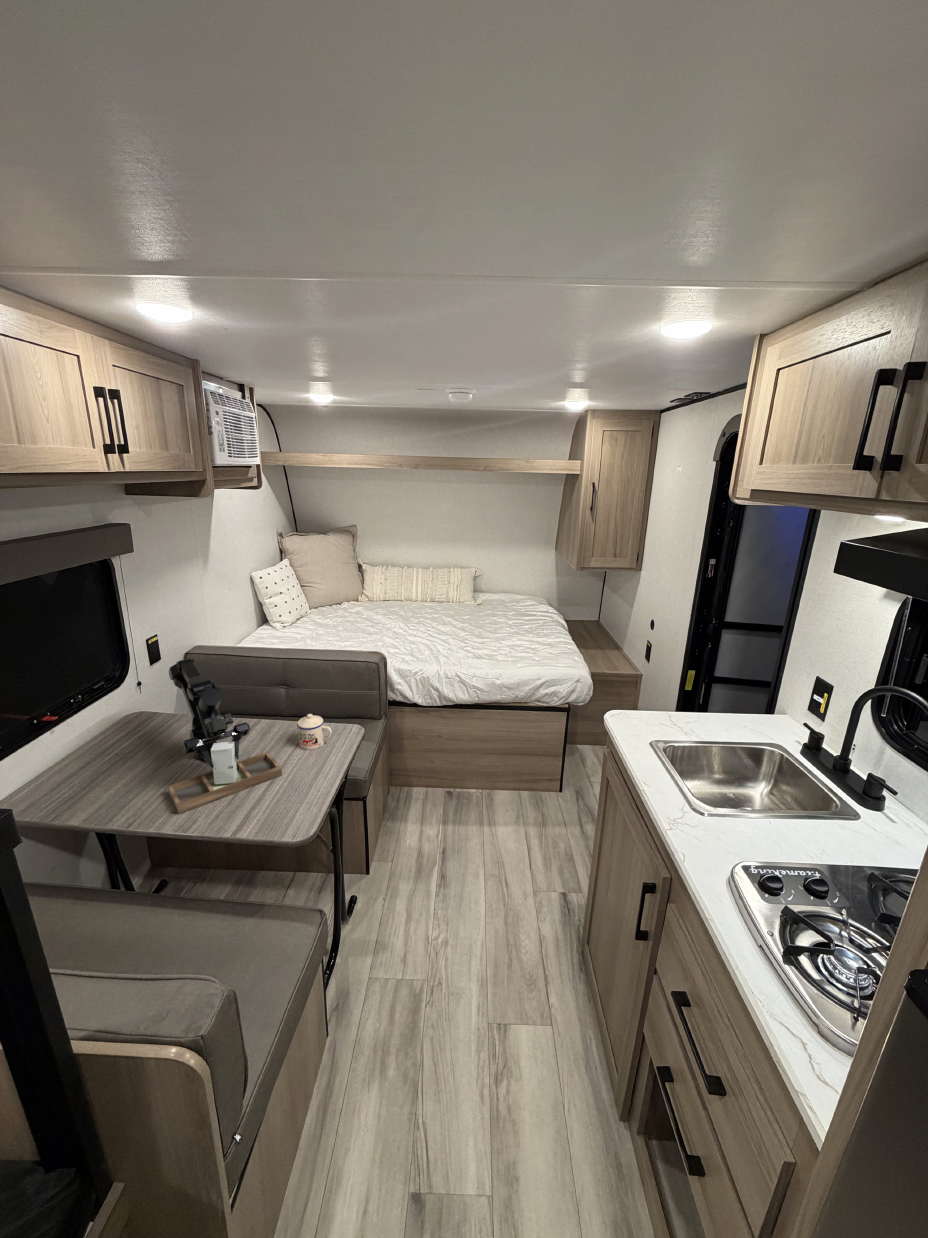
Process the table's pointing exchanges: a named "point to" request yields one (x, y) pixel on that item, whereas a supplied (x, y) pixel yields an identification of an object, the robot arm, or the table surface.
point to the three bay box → (205, 791)
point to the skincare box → (224, 762)
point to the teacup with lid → (312, 732)
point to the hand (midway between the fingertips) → (225, 763)
